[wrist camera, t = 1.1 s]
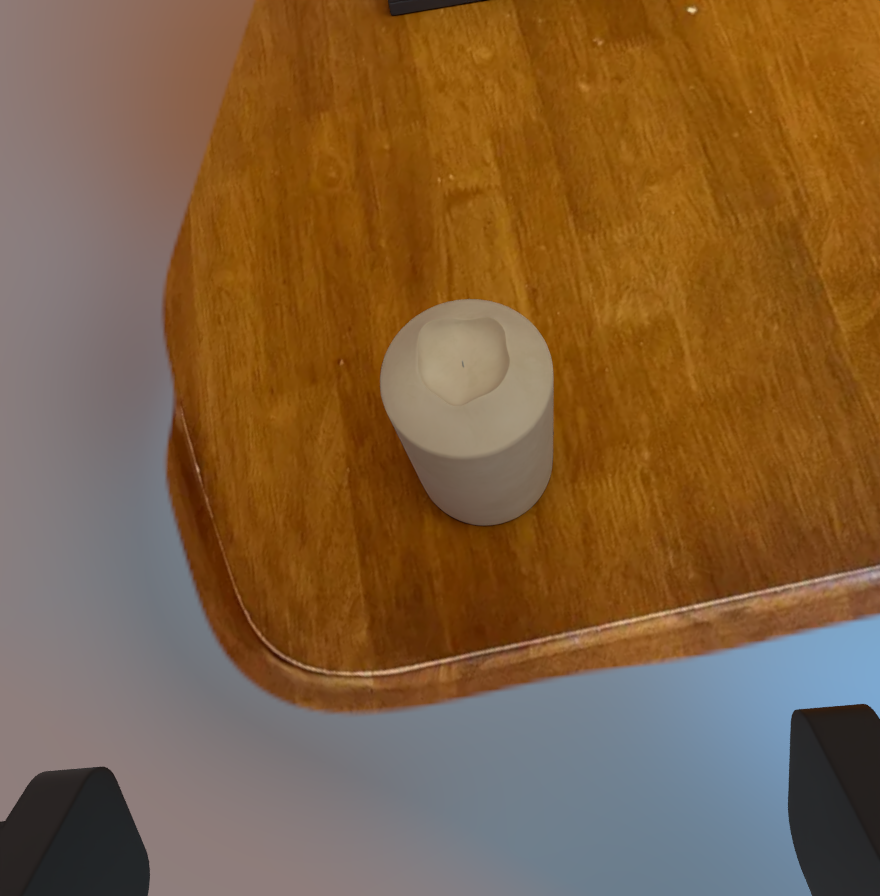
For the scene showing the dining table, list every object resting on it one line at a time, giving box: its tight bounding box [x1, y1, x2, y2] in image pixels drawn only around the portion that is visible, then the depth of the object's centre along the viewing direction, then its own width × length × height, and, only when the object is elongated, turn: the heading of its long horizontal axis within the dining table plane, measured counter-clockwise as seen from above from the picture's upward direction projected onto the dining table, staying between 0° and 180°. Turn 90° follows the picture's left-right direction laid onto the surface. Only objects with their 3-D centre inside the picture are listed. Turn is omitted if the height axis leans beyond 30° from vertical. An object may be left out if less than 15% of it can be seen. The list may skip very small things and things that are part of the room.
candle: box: [380, 299, 553, 525], centre depth 29 cm, size 6×6×10 cm
